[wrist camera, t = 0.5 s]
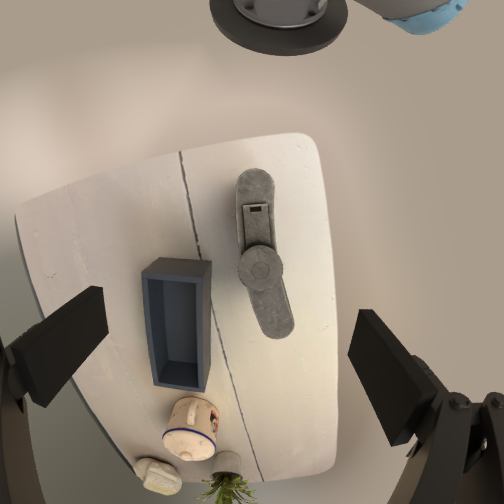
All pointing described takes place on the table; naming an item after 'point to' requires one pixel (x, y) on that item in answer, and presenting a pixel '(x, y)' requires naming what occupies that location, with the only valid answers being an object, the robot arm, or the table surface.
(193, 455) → the teacup with lid
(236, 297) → the table surface
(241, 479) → the house plant
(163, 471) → the fossil replica
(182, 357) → the holder
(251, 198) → the flask
